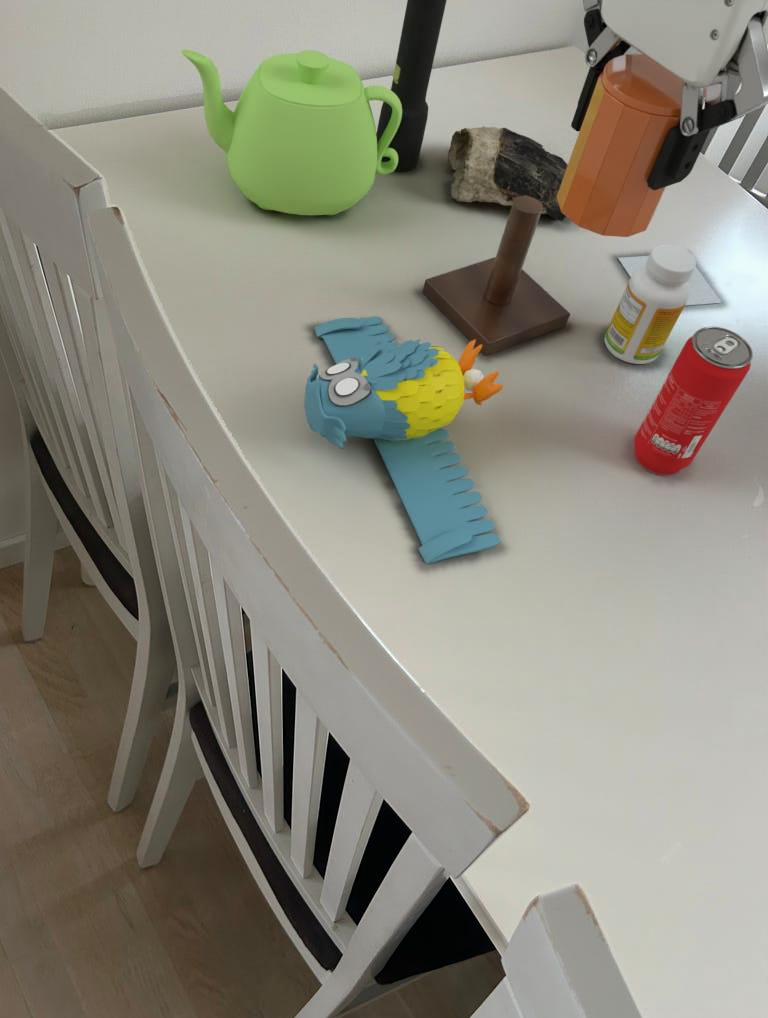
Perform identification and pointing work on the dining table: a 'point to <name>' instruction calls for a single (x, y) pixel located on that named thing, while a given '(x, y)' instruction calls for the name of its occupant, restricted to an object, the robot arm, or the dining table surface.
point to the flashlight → (413, 79)
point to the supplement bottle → (651, 305)
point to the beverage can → (692, 399)
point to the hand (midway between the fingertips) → (626, 152)
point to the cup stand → (500, 290)
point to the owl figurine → (406, 424)
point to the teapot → (301, 132)
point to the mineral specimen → (504, 169)
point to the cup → (621, 147)
